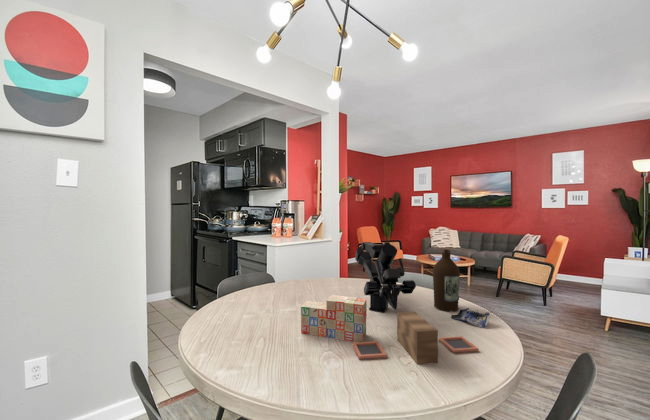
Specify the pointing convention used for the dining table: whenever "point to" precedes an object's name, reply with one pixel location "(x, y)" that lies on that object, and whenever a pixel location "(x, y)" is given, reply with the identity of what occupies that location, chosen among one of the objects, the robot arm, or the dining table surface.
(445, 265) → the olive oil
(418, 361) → the walnut brick
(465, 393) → the dining table surface
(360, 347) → the tile
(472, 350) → the tile
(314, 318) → the stack of blocks
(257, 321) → the dining table surface
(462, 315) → the snack package
